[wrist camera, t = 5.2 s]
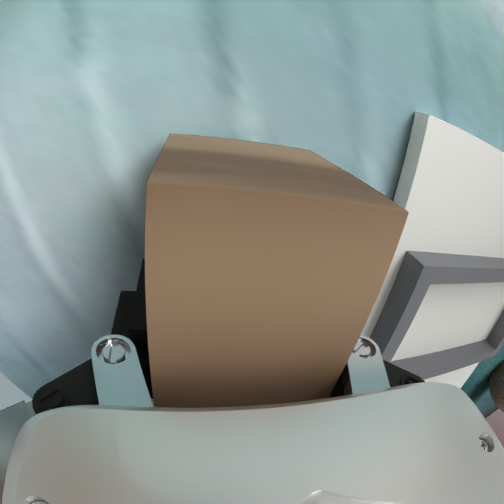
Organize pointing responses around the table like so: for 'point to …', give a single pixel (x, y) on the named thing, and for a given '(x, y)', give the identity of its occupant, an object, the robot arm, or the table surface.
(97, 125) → the table surface
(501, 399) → the vase
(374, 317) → the slot board
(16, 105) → the table surface
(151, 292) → the walnut bar
